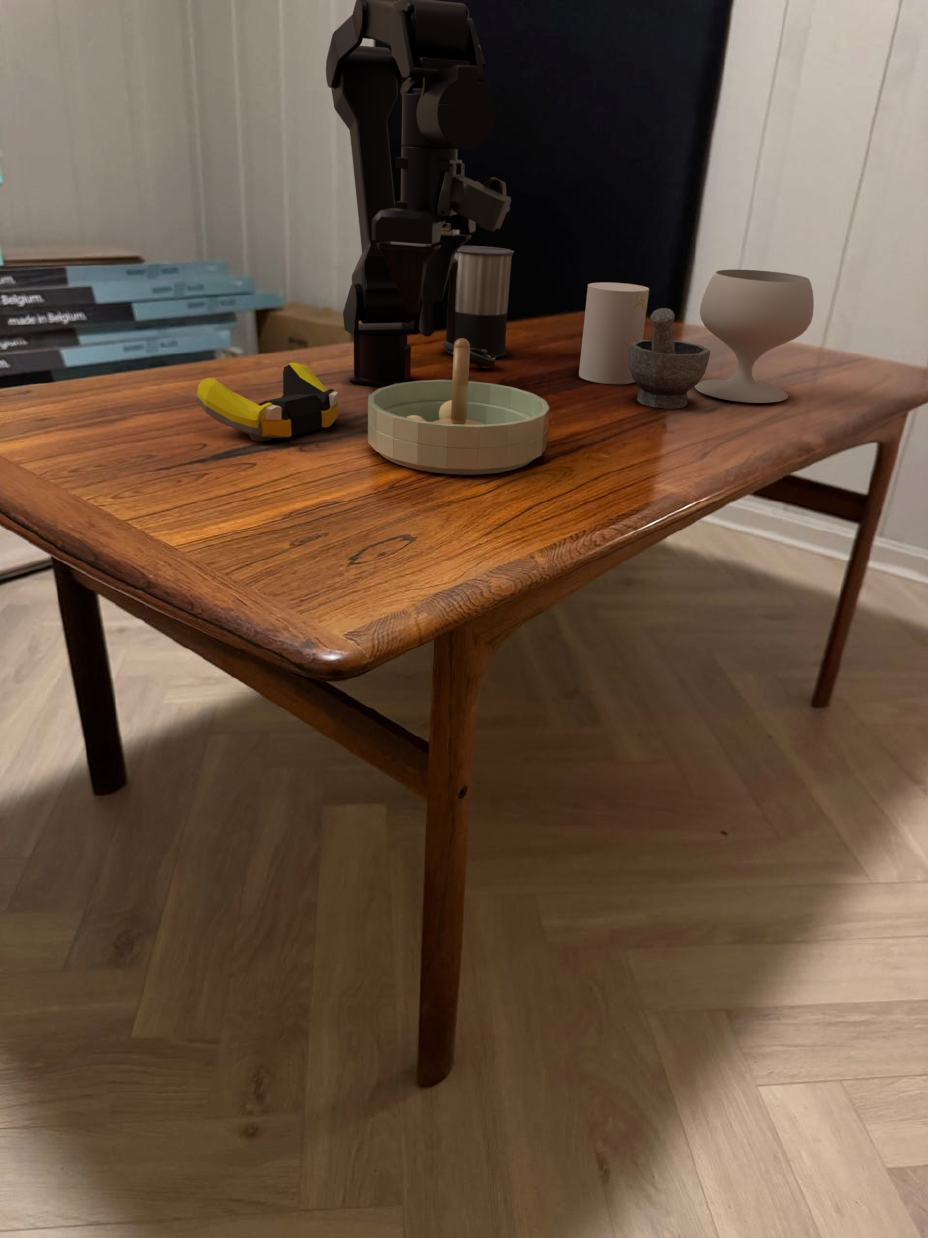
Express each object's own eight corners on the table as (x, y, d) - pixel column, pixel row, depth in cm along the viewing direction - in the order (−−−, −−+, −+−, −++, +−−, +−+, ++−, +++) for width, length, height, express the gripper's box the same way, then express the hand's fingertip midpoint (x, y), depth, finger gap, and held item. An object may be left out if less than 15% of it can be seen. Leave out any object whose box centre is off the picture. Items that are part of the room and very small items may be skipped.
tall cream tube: (636, 386, 124) (648, 293, 119) (576, 380, 126) (585, 288, 120) (638, 373, 132) (649, 285, 126) (581, 368, 133) (590, 280, 127)
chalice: (676, 396, 120) (694, 275, 113) (699, 376, 131) (718, 265, 125) (786, 413, 115) (812, 287, 108) (801, 391, 126) (826, 275, 119)
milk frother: (486, 345, 145) (492, 244, 138) (545, 366, 133) (554, 256, 126) (406, 351, 138) (408, 245, 131) (460, 374, 126) (465, 258, 119)
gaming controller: (191, 430, 97) (254, 451, 91) (186, 378, 94) (250, 396, 89) (298, 406, 107) (359, 423, 102) (296, 358, 105) (359, 373, 100)
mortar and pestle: (639, 389, 123) (651, 295, 117) (708, 400, 119) (724, 303, 114) (609, 406, 114) (621, 305, 109) (683, 419, 110) (699, 315, 105)
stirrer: (421, 445, 93) (424, 340, 88) (437, 430, 98) (441, 330, 94) (478, 453, 92) (484, 346, 87) (492, 437, 97) (498, 335, 92)
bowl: (342, 463, 89) (341, 412, 87) (400, 417, 105) (400, 373, 103) (525, 487, 86) (529, 435, 83) (557, 435, 101) (561, 390, 99)
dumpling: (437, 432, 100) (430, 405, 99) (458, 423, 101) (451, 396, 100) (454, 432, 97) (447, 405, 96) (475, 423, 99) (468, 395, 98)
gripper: (485, 151, 84) (476, 327, 91) (524, 151, 100) (514, 301, 107) (369, 145, 86) (370, 317, 93) (426, 146, 102) (423, 293, 109)
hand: (425, 307), depth 101 cm, fingers open, 9 cm apart
